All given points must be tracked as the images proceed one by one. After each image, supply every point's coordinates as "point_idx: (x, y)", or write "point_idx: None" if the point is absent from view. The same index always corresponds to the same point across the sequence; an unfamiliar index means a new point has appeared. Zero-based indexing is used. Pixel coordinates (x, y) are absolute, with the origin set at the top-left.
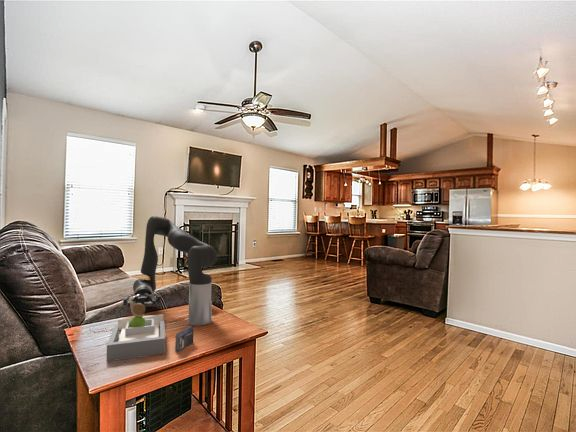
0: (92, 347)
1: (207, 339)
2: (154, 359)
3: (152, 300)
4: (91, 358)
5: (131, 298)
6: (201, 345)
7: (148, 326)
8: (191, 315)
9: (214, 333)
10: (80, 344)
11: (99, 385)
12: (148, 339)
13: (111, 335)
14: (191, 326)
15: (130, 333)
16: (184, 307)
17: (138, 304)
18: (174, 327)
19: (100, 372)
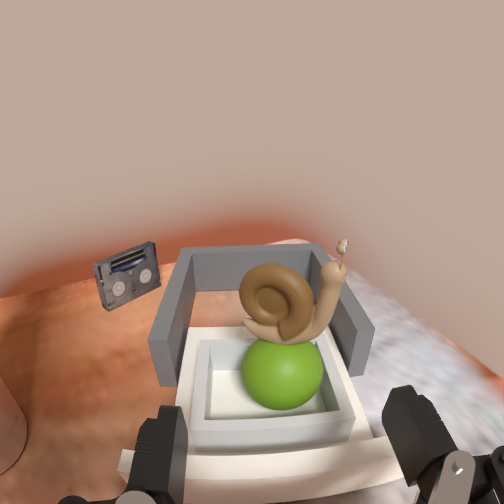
0: (399, 333)
1: (62, 312)
2: None
3: (175, 406)
4: (359, 291)
5: (342, 244)
6: (94, 294)
7: (223, 339)
8: (4, 387)
9: (23, 334)
10: (450, 351)
11: (294, 239)
12: (223, 248)
13: None
14: (95, 264)
15: None
16: None
17: (283, 265)
18: (95, 437)
19: None
